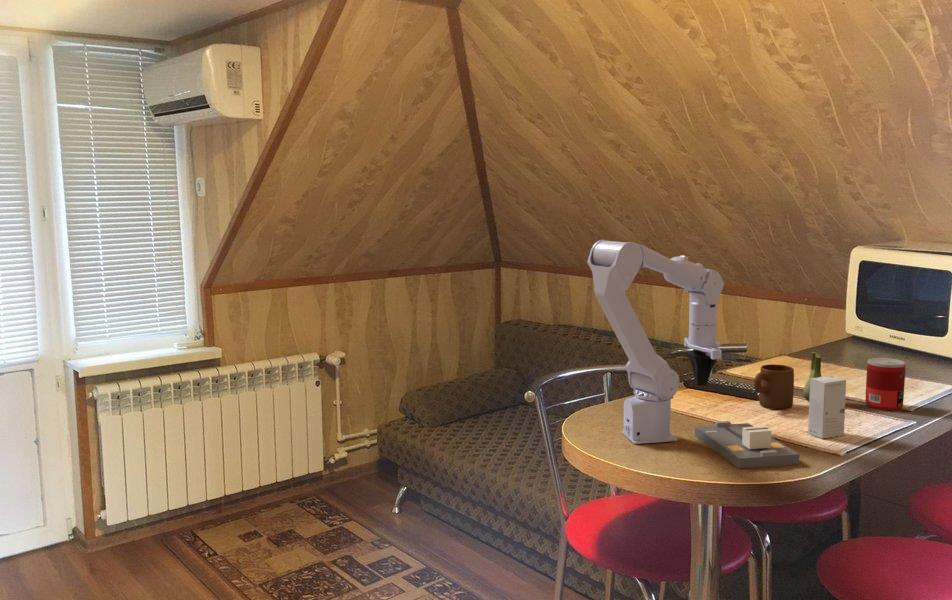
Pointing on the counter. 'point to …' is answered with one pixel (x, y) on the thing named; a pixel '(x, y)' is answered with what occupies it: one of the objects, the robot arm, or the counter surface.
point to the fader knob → (756, 437)
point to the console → (730, 446)
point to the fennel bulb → (813, 373)
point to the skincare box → (827, 406)
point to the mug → (775, 386)
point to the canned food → (885, 384)
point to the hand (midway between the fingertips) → (701, 384)
